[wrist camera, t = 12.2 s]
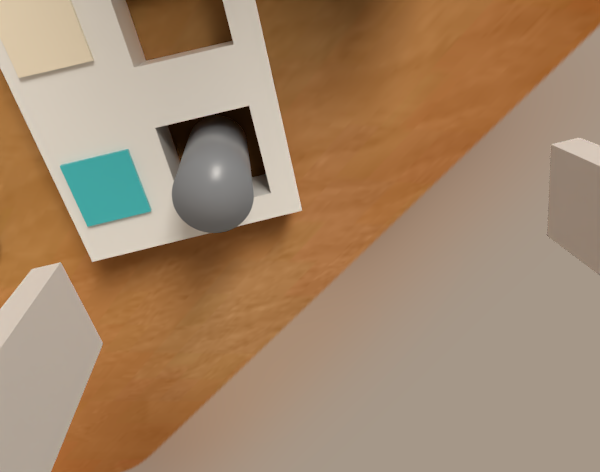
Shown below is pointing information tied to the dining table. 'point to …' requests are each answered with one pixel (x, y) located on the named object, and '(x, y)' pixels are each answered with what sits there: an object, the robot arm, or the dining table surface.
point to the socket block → (134, 114)
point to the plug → (214, 177)
